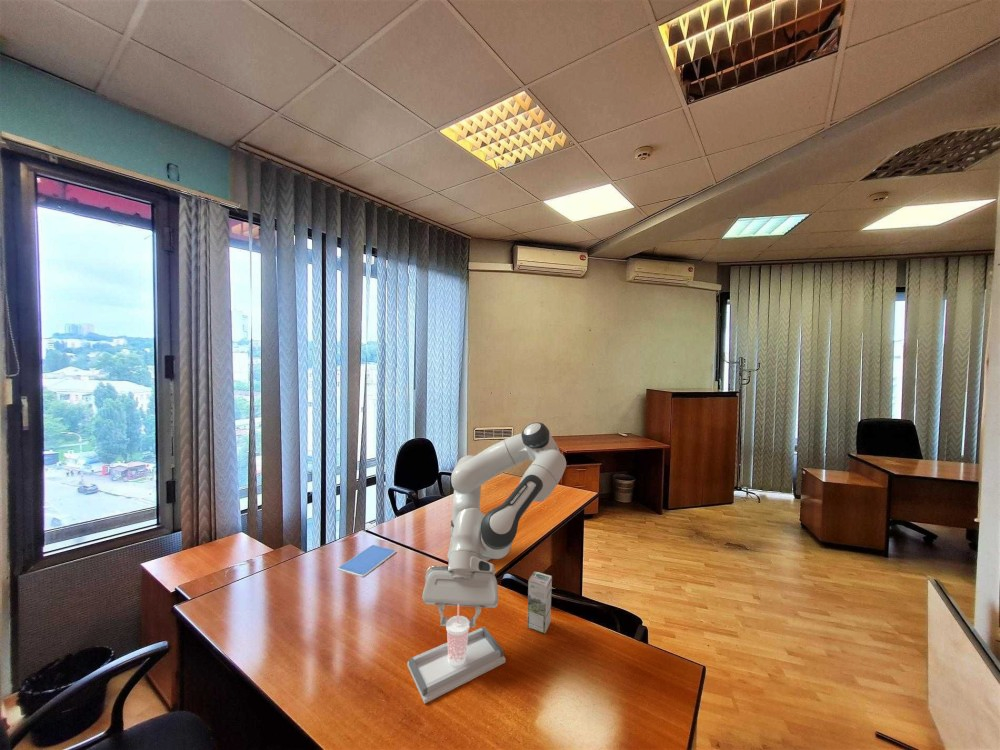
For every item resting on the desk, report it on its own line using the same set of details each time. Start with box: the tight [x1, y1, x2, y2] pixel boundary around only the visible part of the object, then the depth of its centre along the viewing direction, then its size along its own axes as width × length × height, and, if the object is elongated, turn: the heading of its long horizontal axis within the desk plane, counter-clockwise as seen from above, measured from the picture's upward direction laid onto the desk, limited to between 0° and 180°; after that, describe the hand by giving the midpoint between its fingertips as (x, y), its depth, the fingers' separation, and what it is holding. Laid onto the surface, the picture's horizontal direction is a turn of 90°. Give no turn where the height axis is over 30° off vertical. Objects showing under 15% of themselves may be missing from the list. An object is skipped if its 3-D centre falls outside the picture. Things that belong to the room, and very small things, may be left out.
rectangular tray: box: [406, 626, 506, 704], centre depth 92 cm, size 22×12×2 cm, turn 123°
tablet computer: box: [337, 544, 397, 578], centre depth 139 cm, size 19×13×1 cm, turn 159°
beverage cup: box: [445, 604, 470, 666], centre depth 92 cm, size 6×6×14 cm
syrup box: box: [526, 571, 553, 634], centre depth 106 cm, size 6×6×14 cm
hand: (457, 626), depth 91 cm, fingers closed on beverage cup, 6 cm apart
